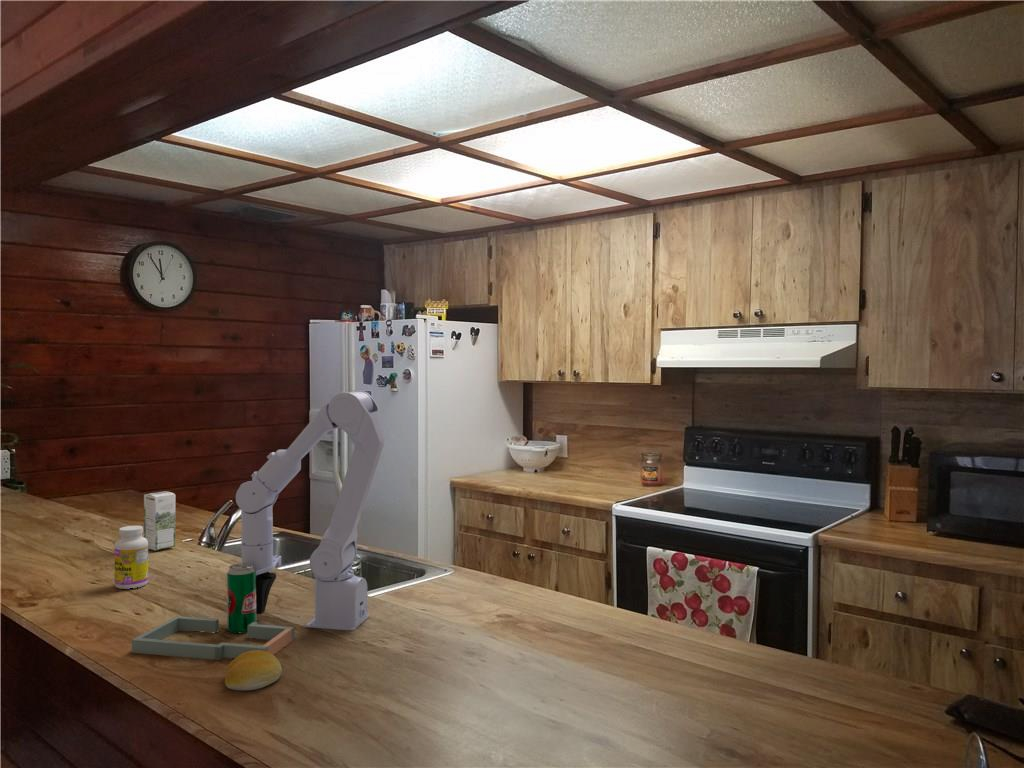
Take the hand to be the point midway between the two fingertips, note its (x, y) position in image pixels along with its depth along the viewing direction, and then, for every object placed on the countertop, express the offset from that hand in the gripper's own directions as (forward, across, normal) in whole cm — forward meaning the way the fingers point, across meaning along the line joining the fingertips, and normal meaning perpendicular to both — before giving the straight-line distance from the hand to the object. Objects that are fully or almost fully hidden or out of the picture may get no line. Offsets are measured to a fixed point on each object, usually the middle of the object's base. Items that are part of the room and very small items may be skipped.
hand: (257, 612), depth 142 cm
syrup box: (+2, -45, -55) cm, 71 cm away
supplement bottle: (+2, -14, -39) cm, 42 cm away
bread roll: (+2, +26, +17) cm, 32 cm away
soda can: (+2, +6, 0) cm, 6 cm away
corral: (+1, +14, 0) cm, 14 cm away
